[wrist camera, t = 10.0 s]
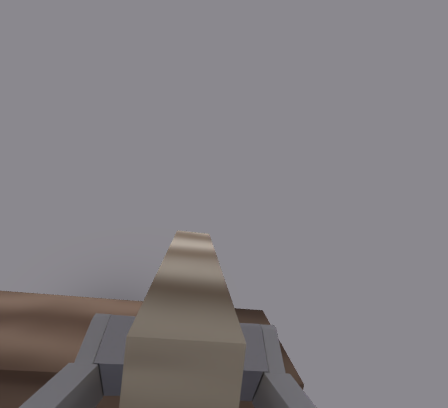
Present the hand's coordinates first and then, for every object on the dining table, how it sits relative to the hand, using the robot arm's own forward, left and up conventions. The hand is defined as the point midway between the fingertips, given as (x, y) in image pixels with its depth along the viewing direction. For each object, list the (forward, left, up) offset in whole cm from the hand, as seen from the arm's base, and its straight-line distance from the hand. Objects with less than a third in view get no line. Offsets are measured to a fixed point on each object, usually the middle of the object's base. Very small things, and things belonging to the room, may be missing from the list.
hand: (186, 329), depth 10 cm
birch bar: (-2, +7, -2) cm, 8 cm away
